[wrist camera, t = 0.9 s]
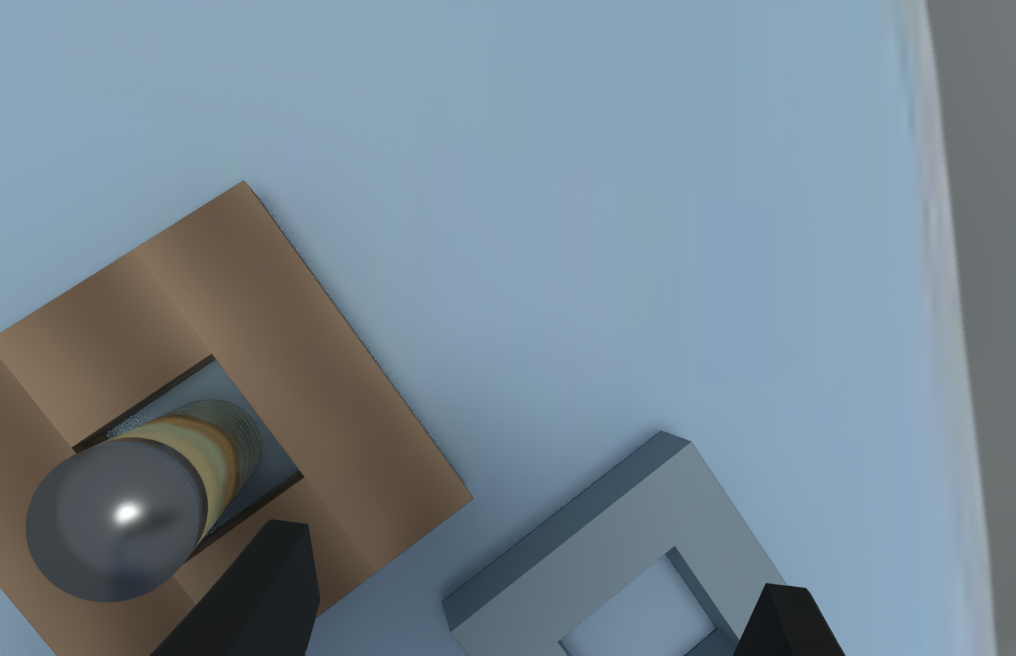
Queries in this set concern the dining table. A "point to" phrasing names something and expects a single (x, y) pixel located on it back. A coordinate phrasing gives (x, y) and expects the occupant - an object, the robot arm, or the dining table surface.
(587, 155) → the dining table surface
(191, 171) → the dining table surface
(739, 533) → the block
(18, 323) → the socket block
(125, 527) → the spice jar
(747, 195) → the dining table surface
